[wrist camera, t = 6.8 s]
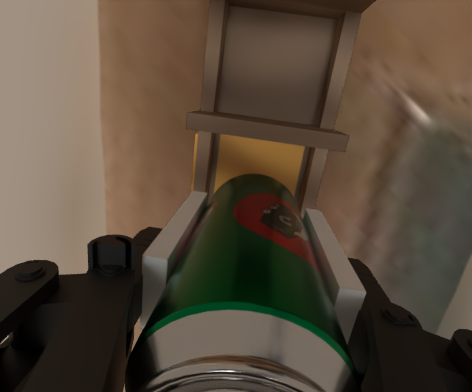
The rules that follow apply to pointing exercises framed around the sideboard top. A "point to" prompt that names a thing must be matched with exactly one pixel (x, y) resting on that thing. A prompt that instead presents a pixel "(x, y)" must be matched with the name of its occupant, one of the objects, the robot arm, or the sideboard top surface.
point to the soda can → (245, 305)
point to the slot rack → (273, 92)
